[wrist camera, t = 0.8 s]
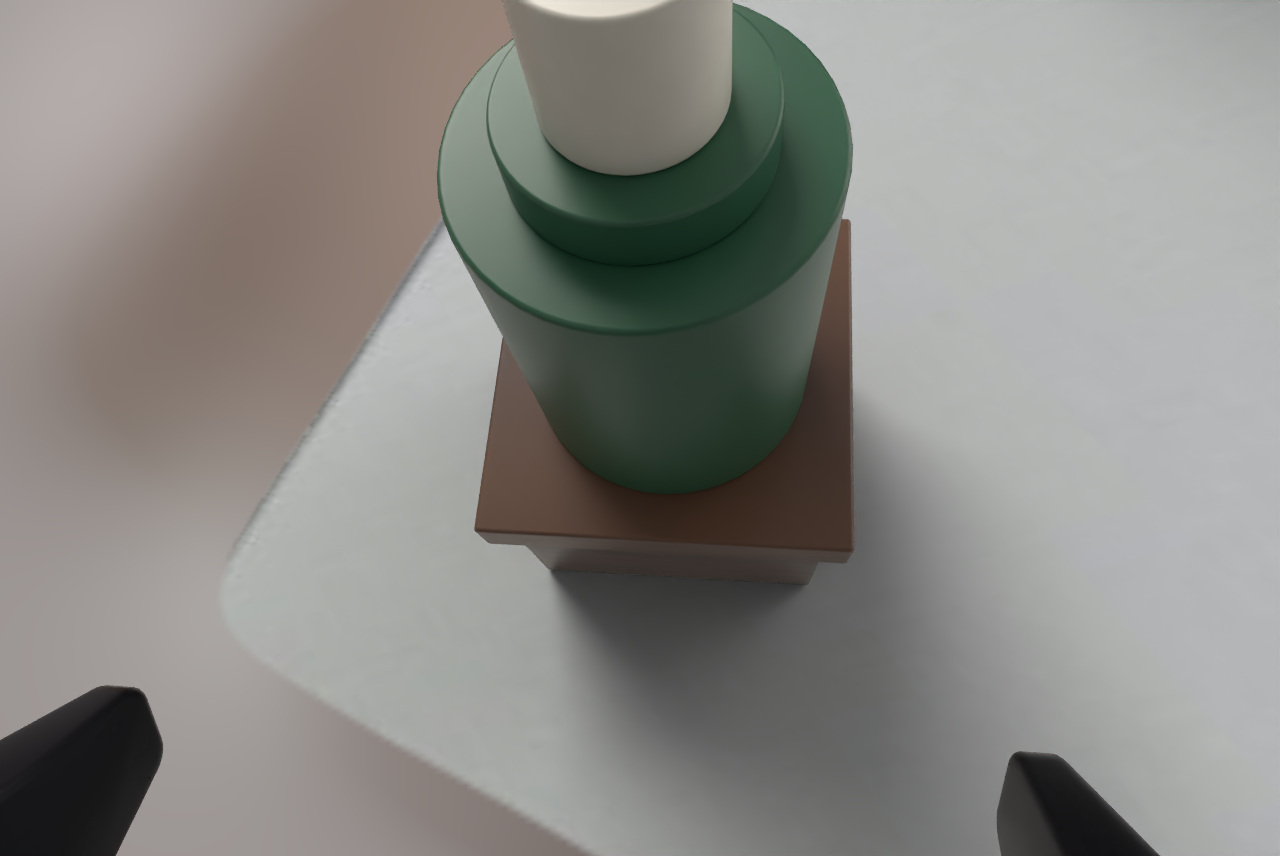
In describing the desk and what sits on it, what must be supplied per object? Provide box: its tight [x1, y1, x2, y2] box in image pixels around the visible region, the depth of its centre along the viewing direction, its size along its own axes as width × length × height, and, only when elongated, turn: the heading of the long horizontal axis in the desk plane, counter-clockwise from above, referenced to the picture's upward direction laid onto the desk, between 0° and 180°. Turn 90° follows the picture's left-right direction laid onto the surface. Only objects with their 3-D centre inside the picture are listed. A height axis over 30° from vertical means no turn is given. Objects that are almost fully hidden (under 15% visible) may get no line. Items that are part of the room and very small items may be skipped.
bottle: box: [437, 0, 853, 494], centre depth 14 cm, size 6×6×11 cm
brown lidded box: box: [474, 219, 854, 585], centre depth 22 cm, size 8×8×6 cm
